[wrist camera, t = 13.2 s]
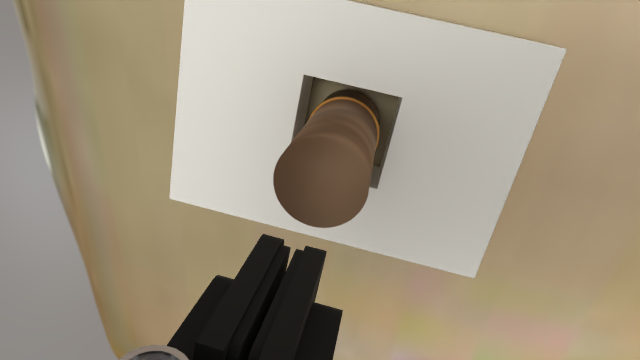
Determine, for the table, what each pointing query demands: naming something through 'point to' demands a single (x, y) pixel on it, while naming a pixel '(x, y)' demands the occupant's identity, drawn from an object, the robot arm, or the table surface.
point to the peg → (330, 161)
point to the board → (373, 74)
